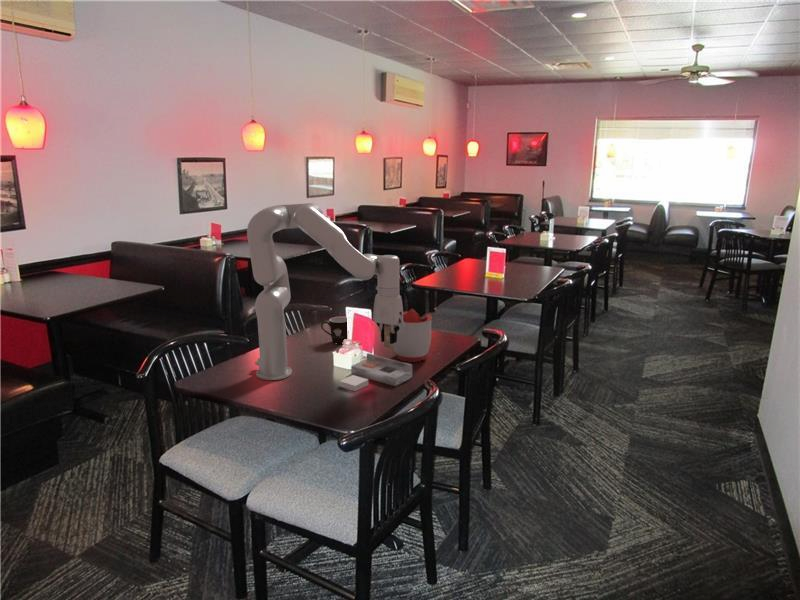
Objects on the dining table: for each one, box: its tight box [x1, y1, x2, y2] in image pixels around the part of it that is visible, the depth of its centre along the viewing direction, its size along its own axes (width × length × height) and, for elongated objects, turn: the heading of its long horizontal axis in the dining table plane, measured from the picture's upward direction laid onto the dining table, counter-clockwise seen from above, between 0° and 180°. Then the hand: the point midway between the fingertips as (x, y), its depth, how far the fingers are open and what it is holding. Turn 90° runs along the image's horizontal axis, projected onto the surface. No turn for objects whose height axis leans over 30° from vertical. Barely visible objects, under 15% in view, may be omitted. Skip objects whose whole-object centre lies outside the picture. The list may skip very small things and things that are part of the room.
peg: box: [383, 324, 394, 349], centre depth 197 cm, size 3×3×8 cm
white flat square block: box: [339, 374, 369, 392], centre depth 193 cm, size 7×7×2 cm
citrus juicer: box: [392, 308, 433, 363], centre depth 219 cm, size 16×17×20 cm
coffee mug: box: [320, 316, 348, 345], centre depth 239 cm, size 12×9×10 cm
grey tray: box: [350, 352, 413, 387], centre depth 202 cm, size 20×10×5 cm, turn 55°
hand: (388, 341), depth 197 cm, fingers closed on peg, 3 cm apart
